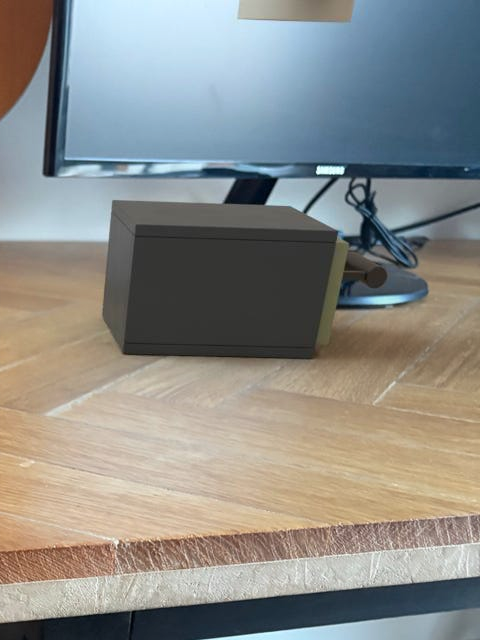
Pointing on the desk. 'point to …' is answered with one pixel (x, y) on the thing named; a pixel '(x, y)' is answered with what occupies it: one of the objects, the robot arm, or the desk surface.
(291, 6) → the cup
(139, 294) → the cabinet
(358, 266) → the drawer
